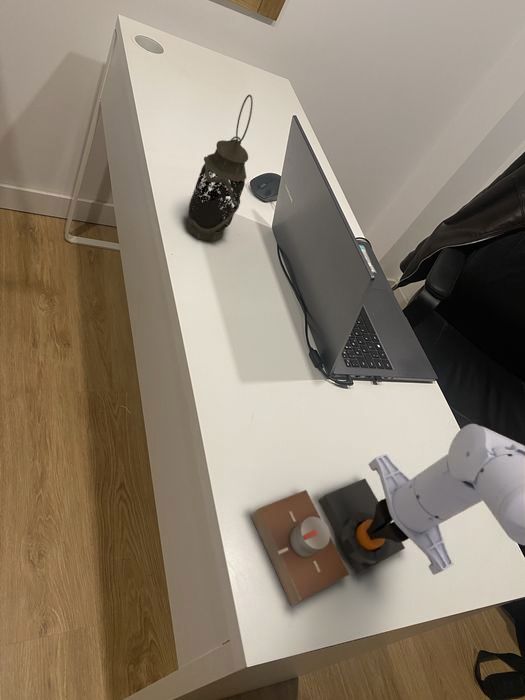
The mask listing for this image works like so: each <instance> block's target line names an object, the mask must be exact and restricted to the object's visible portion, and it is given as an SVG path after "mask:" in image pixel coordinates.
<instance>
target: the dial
mask: <svg viewBox="0 0 525 700" xmlns="http://www.w3.org/2000/svg"><path fill="white" fill-rule="evenodd" d="M320 518H321V517H320ZM320 518H317V517H308V518H306V519H305V520H304V521H303V522H301V523H300V524H299V525H298V526H297V527H295V528H294V529H293V530H292V532H291V535H290V542H291V545H292V548H293V549H294V551H295V552H296V553H297V554H299V555H300V556H303V557H310V556H312V555H314V554H315V553H317V552H318V551H320V550H321V549H323V548H324V547H326V546H327V544H328V543H329V540H330V537H331V533H330V529H329V527H328V524H326V523H325V521H324V520H323V519H322V518H321V519H320Z"/></svg>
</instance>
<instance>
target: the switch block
mask: <svg viewBox="0 0 525 700" xmlns="http://www.w3.org/2000/svg"><path fill="white" fill-rule="evenodd" d="M318 502H319V504H320V506H321V508H322V510H323V511H324V514H325V515H326V518H327V520H328V521H329V524H330V525H331V527H332V529H333V531H334V533H335V535H336V537H337V539H338V540H339V542H340V545H341V546H342V548H343V550H344V552H345V554H346V556H347V558H348V559H349V562H350V563H351V565H352V567H353V569H354V571H355V573H356V575H360V574H362V573H363V572H366V571H368V570H369V569H370V568H372V567H375V566H377V564H380V563H382V562H383V561H385V560H387V559H389V558H390V557H392V556H394V555H396V554H398V553H400V552H402V551H403V550H405V549H406V547H405V545H404V543H403V542H395V541H392V540H389V539H385V541H384V543H383V545H381V546H380V547H378V548H376V549H374V550H371V551H370V550H366V549H364V548H363V547H361V546H360V544H359V542H358V540H357V539H356V529H357V527H358V526H359V525H360V524H362V523H363V522H365V521H367V520H373V519H374V516H375V506H376V504H377V503H378V502H379V500H378V498H377V497H376V494H375V493H374V491H373V490H372V487H371V486H370V484H369V483H368V481H367V479H366V478H363V479H360V480H358V481H355V482H352V483H350V484H348V485H346V486H343V487H341V488H339V489H336V490H333V491H331V492H329V493H327V494H326V493H325V494H324V495H323V496H322V497H321V498H320V499H318ZM390 523H392V521H391V522H390ZM390 523H389V524H390Z"/></svg>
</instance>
